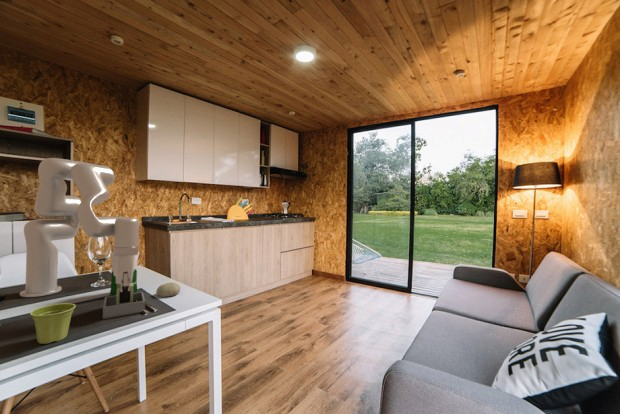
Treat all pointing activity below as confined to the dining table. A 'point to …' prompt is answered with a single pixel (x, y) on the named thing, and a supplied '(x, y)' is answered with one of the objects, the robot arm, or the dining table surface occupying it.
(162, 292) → the sea urchin shell
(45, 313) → the plant pot
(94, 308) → the dining table surface
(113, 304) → the tray
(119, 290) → the olive block
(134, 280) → the milk carton
